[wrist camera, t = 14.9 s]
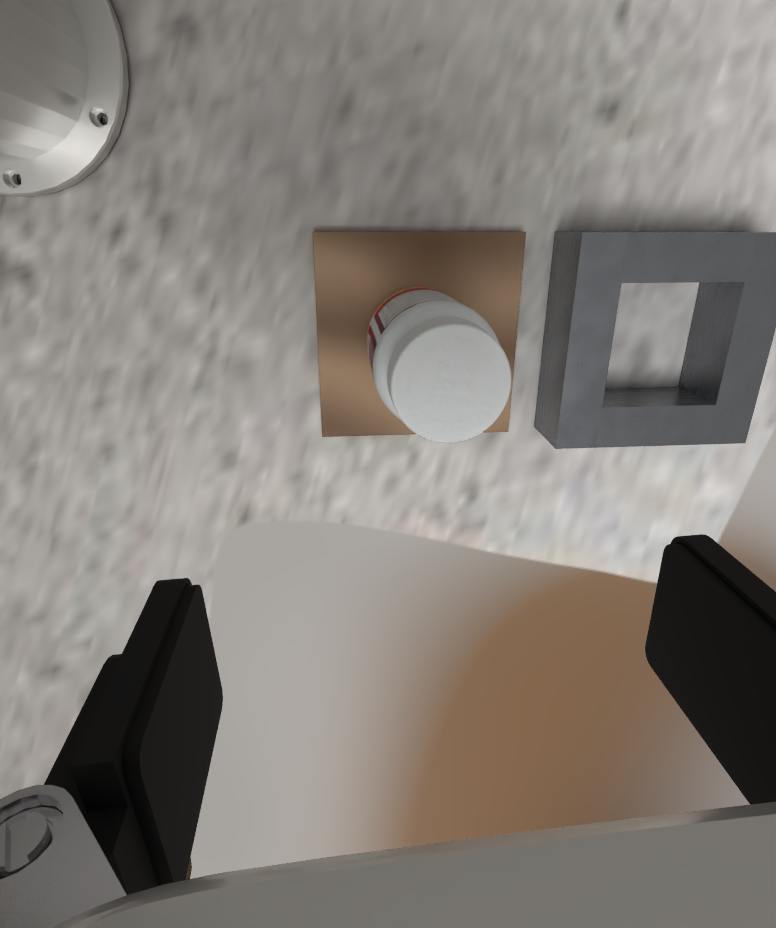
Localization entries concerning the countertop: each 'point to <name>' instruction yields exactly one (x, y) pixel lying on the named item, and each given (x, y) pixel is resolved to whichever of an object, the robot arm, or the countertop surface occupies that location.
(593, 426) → the metal collar
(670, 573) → the robot arm
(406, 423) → the pill bottle
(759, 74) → the countertop surface
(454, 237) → the brown pad
